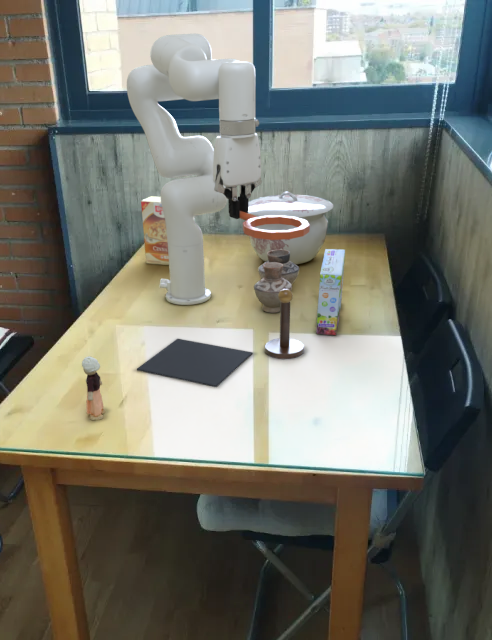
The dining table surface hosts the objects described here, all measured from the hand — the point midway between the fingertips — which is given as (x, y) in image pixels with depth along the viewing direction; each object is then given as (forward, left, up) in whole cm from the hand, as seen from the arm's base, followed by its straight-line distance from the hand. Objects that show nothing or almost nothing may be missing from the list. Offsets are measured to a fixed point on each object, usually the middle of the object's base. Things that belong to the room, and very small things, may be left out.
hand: (238, 216), depth 155 cm
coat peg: (+14, -5, -28) cm, 32 cm away
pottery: (-1, +25, -29) cm, 38 cm away
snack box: (+17, +17, -29) cm, 37 cm away
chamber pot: (-12, +59, -29) cm, 67 cm away
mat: (-2, -18, -28) cm, 34 cm away
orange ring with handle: (+7, -4, 0) cm, 9 cm away
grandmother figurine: (-8, -48, -29) cm, 56 cm away
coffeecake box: (-45, +43, -29) cm, 69 cm away
